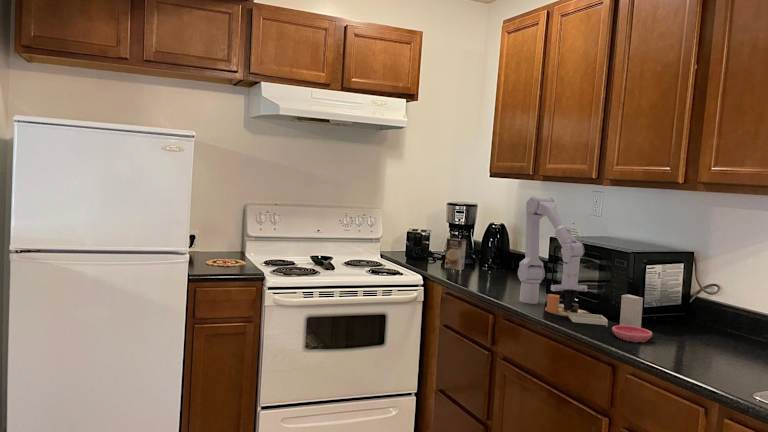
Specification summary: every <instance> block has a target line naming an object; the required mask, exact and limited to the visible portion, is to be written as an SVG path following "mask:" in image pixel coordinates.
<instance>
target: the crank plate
mask: <svg viewBox="0 0 768 432" xmlns="http://www.w3.org/2000/svg"><path fill="white" fill-rule="evenodd" d="M544 310H545V311H546V310H547V306H546V307H545V308H544ZM547 312H548V313H551V314H554V315H558V316H564V317H568V315H569V313H568V312H567V310H565V309H562V308H560V307H559V309H558V312H557V313H556V312H550V311H547ZM578 313H583V314H591V313H590V312H589V311H587V310H583V309H580V308H578Z"/></svg>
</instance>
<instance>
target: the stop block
mask: <svg viewBox="0 0 768 432" xmlns="http://www.w3.org/2000/svg"><path fill="white" fill-rule="evenodd" d="M560 297H561V294H560V295H559V294H553V293H548V295H547V298H546V299H547V300H546V301H547V302H546V307H547V310H545V312H548V311H550V312H556V313H557V312H558V309H559V304H560ZM550 312H549V313H550Z"/></svg>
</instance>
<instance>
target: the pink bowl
mask: <svg viewBox="0 0 768 432" xmlns="http://www.w3.org/2000/svg"><path fill="white" fill-rule="evenodd" d="M611 330H612V332H613V334H614V335H615V337H616V338H617V337H618V338H617V339H619V338H620V339H619V340H622V339H623V341H625V340H626V342H630V341H631V343H638V342H642V343H646V342H647V341H648V340H650V339H651V338H652V337H653V332H652V330H648V329H646V328H643V327H641V328H640V327H635V326H626V325H620V324H619V325H614V326H612V328H611Z"/></svg>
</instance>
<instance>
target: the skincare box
mask: <svg viewBox="0 0 768 432" xmlns="http://www.w3.org/2000/svg"><path fill="white" fill-rule="evenodd" d="M620 298H621V301H620V316H619V325H626V326H635V327H640V328H642V317H643V306H644V305H643V302H644V297H640V296H638V295H637V296H636V295H632V294H623V295H621V297H620Z"/></svg>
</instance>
